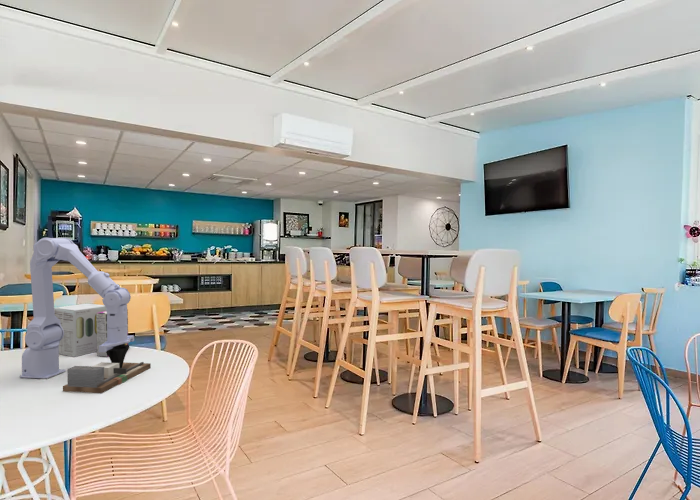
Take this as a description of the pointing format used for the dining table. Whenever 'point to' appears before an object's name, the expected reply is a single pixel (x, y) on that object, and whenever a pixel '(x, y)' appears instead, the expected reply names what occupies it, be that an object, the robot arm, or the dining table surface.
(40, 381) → the dining table surface
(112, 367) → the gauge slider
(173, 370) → the dining table surface
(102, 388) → the base
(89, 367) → the dark grey block
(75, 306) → the supplement box
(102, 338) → the candy bar box
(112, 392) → the dining table surface
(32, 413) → the dining table surface
